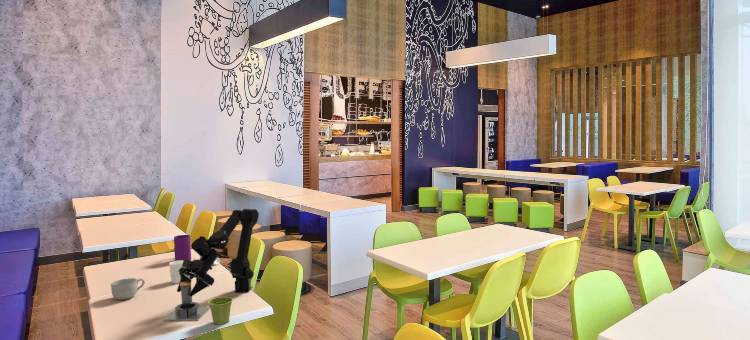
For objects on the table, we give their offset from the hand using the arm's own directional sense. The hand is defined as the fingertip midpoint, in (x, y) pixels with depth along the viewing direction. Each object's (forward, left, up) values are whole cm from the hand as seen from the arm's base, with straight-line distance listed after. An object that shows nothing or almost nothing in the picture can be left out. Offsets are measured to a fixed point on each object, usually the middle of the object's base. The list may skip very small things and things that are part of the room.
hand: (183, 293), depth 195 cm
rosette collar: (-1, -1, -9) cm, 9 cm away
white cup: (+23, -45, -9) cm, 52 cm away
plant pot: (-18, +7, -9) cm, 21 cm away
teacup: (+36, -22, -9) cm, 43 cm away
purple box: (+40, -87, -9) cm, 96 cm away
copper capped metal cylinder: (-1, -1, -8) cm, 9 cm away
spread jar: (+19, -78, -9) cm, 81 cm away
